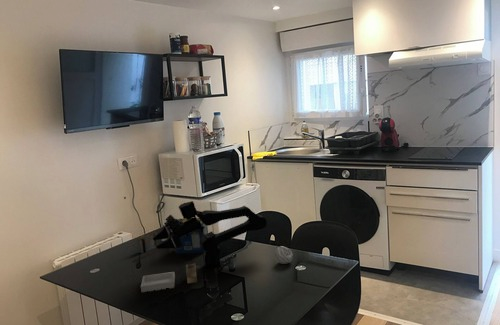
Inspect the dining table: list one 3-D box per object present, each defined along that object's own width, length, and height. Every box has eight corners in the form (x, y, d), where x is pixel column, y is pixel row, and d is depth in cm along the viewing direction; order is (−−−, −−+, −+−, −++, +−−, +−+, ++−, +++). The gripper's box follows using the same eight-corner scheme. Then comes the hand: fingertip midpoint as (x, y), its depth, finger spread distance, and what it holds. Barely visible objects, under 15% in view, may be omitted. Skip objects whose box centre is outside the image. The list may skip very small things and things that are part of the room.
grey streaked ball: (286, 267, 185) (285, 250, 184) (272, 265, 189) (270, 248, 188) (296, 261, 191) (294, 245, 190) (281, 259, 196) (280, 242, 195)
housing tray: (174, 277, 185) (174, 271, 185) (174, 287, 174) (173, 281, 174) (143, 281, 183) (143, 275, 183) (141, 292, 172) (140, 286, 172)
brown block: (196, 276, 184) (195, 261, 183) (197, 282, 178) (195, 266, 177) (187, 277, 183) (185, 262, 182) (187, 283, 177) (185, 267, 177)
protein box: (181, 247, 225) (178, 218, 223) (209, 245, 223) (206, 217, 221) (175, 254, 215) (171, 224, 213) (204, 253, 213) (201, 223, 211)
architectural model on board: (143, 254, 220) (141, 236, 219) (139, 253, 222) (137, 235, 220) (158, 247, 230) (156, 229, 228) (154, 246, 231) (152, 229, 230)
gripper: (176, 205, 196) (144, 220, 192) (185, 219, 179) (151, 236, 175) (185, 225, 199) (154, 240, 195) (195, 241, 183) (161, 258, 179)
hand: (154, 243), depth 186 cm, fingers open, 9 cm apart
